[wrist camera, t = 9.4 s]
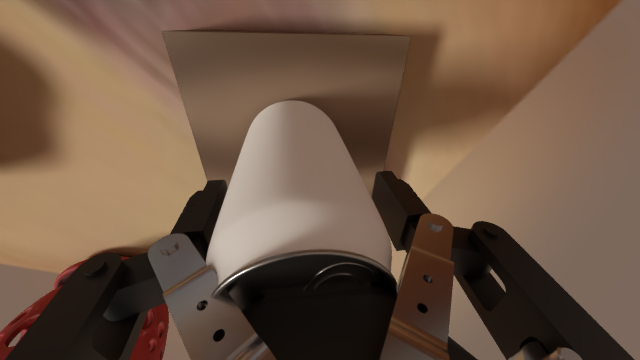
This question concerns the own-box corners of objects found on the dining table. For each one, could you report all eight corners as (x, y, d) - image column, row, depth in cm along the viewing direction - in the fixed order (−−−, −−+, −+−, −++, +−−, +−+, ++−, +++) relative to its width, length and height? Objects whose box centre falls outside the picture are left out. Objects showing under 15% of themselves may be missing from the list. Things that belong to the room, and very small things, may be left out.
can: (353, 145, 17) (445, 303, 7) (291, 193, 19) (299, 373, 9) (295, 75, 14) (323, 191, 4) (227, 141, 16) (134, 330, 6)
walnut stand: (187, 30, 15) (161, 31, 12) (386, 34, 17) (410, 36, 14) (229, 195, 23) (220, 223, 20) (362, 186, 25) (374, 211, 22)
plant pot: (139, 317, 33) (77, 442, 23) (35, 274, 26) (-121, 429, 16) (212, 283, 31) (178, 405, 21) (121, 225, 24) (5, 369, 14)
